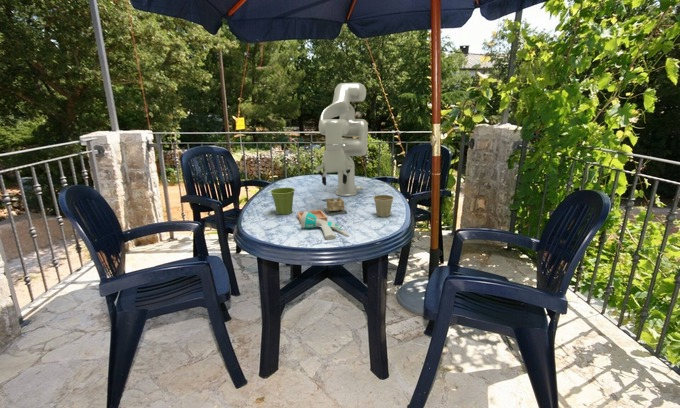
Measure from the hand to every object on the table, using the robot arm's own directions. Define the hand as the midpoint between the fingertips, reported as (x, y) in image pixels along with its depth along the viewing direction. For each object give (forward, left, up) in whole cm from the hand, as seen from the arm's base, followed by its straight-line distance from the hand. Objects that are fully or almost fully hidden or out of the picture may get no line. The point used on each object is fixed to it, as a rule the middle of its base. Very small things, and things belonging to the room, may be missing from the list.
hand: (334, 184), depth 165 cm
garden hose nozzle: (+11, +23, -15) cm, 29 cm away
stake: (0, -1, -14) cm, 14 cm away
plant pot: (+24, -8, -14) cm, 29 cm away
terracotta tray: (+13, +6, -14) cm, 20 cm away
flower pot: (-20, +11, -14) cm, 27 cm away
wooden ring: (0, -1, -12) cm, 12 cm away
